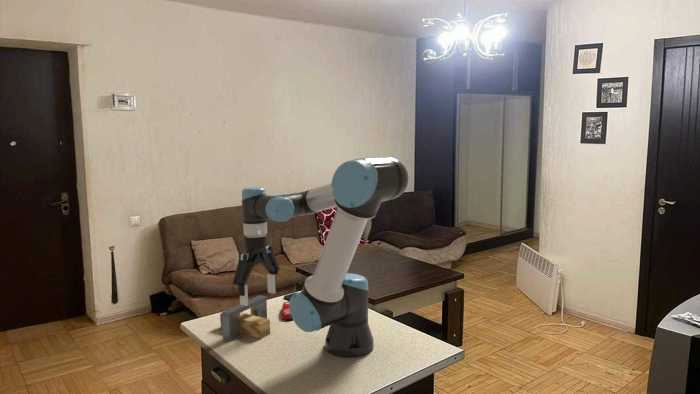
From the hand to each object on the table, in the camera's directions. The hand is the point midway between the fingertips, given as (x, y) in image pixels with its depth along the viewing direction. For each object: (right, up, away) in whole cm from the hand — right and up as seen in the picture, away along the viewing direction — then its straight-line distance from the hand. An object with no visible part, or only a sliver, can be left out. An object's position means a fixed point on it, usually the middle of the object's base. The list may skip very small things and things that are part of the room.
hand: (258, 298), depth 170 cm
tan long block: (-5, -12, +5) cm, 14 cm away
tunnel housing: (-5, -12, +5) cm, 14 cm away
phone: (+11, -8, +35) cm, 37 cm away
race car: (+8, -10, +20) cm, 24 cm away
